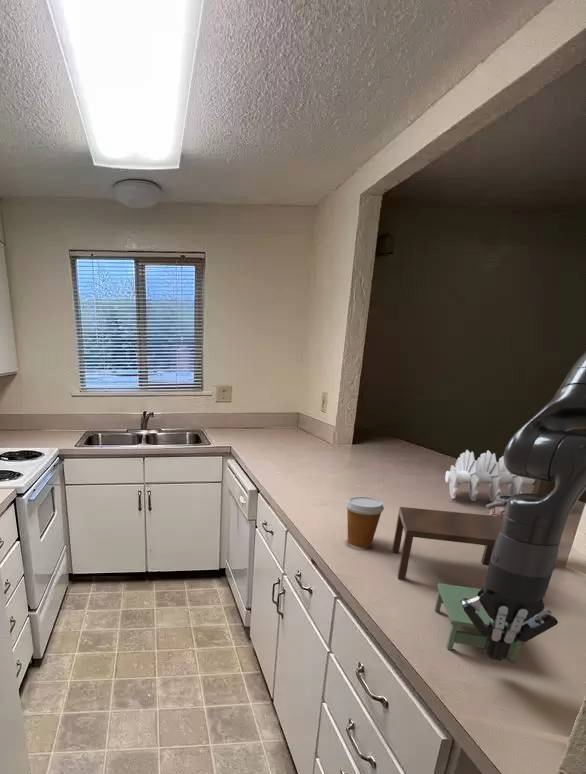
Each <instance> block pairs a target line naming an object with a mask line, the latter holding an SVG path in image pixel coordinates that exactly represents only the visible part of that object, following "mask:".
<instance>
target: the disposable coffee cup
mask: <svg viewBox="0 0 586 774" xmlns="http://www.w3.org/2000/svg"><path fill="white" fill-rule="evenodd" d="M345 506H346V510H347V542H348V543H349V544H350V545H352V546H356V547H362V548H364V547H365V548H366V547H370V546H372V544H373V541H374V537H375V535H376V531H377V528H378V526H379V525H378V524H379V521H380V518H381V514H382V513H383V511H384V510H385V507H384V505H383V502H382V501H381V500H380V499H377V498H374V497H370V496H353V497H350V498H348V500H347V502H346V503H345Z"/></svg>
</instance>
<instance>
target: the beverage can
mask: <svg viewBox="0 0 586 774" xmlns="http://www.w3.org/2000/svg"><path fill="white" fill-rule="evenodd" d="M512 496H513V495H509V494H499V495H498V496H497V498H496V501H495V502H493V503H492V502H490V503H488V504H486V505H485V508H486V509H489V512H488V515H491V516H500V517H501V518H502V519H503V517H504V514H505V510H506V506H507V503H508V501H509V499H510V498H511V497H512Z"/></svg>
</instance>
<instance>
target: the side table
mask: <svg viewBox="0 0 586 774" xmlns="http://www.w3.org/2000/svg"><path fill="white" fill-rule="evenodd" d="M502 521H503V519H502V518H501V517H500V516H491V515H489V514H479V513H469V512H468V513H467V512H459V511H458V512H457V511H447V510H437V509H427V508H418V507H417V508H416V507H405V506H399V508H398V514H397V519H396V523H395V531H394V536H393V542H392V547H391V553H392V554H400V550H401V554H400V560H399V566H398V570H397V579H398V580H403V581H405V580H406V577H407V572H408V567H409V561H410V556H411V552H412V547H413V540H414V538H418V539H426V540H435V541H445V542H453V543H461V544H462V543H463V544H469V545H478V546H479V545H480V546H484V549H483V553H482V557H481V564H482V565H484V566H485V565H486V566H489V562H490V559H491V555H492V551H493V547H494V544H495V541H496V539H497V537H498V534H499V532H500V529H501V525H502ZM403 532H404V538H403ZM402 539H403V543H402ZM401 543H402V549H400V548H401Z"/></svg>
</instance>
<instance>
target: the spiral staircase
mask: <svg viewBox="0 0 586 774" xmlns="http://www.w3.org/2000/svg"><path fill="white" fill-rule="evenodd" d="M444 475H445V476H444V481H445V483H449V485H448V486H449V487H448V488H449V495H450V496H449V497H450V498H451V500H454V499H456V496H457V492H458V487H459V486H460V484H467V485H468V496H469V499H470V501H476V498H477V495H478V493H479V490H478V489H479V488H478V487H480V484H488V488H487V490H488V491H487V492H488V499H489V501H491V502H490V503H493V502H495V501H496V498H497V496H498V495H500V494H501V491H502V490H501V486H502V485H508V489H507V492H508V495H513V496H514V495H516V494H521V493H523V490H522V488H523V485H529V486H531V485H533V484H534V485H535V482H536V479H531V478H526V477H521V476H517V475H514V474H512V473H510V472H509V471H508V470H507V468H506V467H505V464H504V455H502V456H501V457H500V458H498V461H497V456H496V453H495V452H493V453H492V452H491V451H490V450H489V449H488V450H486V452H483V453H480V456H479V457H478V458H477V459H475V454H474V451H471V452H470V451H469V449H465V452H462V453H460V454H459V457H457V459H456V462H455V465H454V464H451V466H450V470H446V471H445V474H444Z"/></svg>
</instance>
